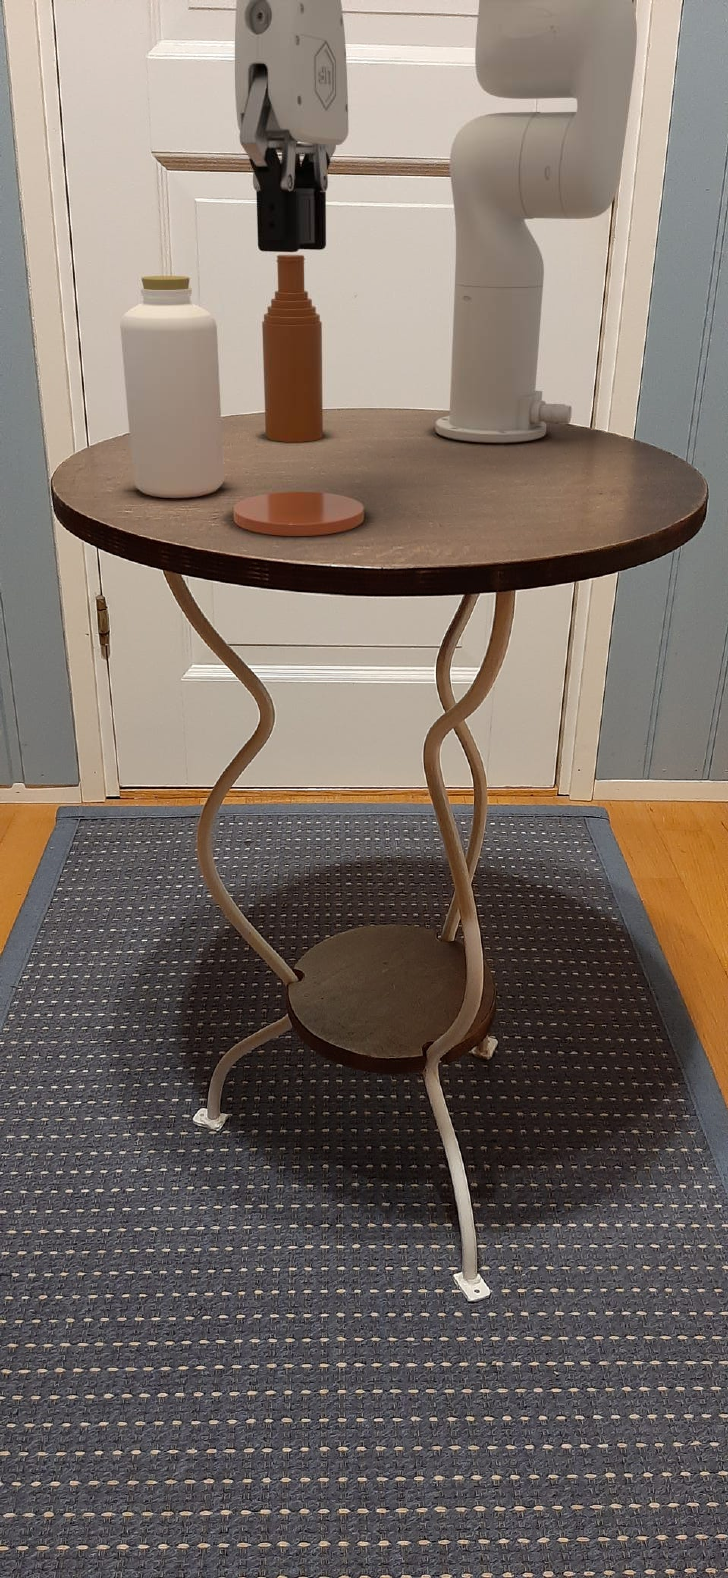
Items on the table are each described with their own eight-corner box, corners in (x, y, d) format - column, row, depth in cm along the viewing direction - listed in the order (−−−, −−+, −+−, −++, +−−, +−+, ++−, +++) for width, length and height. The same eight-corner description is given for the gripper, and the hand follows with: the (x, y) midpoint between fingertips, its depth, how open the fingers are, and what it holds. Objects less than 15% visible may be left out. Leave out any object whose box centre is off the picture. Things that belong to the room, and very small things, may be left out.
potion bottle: (126, 483, 108) (108, 274, 100) (213, 477, 111) (202, 273, 103) (142, 503, 102) (124, 281, 93) (234, 496, 104) (224, 280, 96)
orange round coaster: (382, 510, 100) (383, 498, 100) (332, 542, 91) (332, 529, 91) (269, 498, 104) (269, 486, 103) (210, 527, 95) (209, 515, 94)
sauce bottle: (331, 433, 131) (330, 254, 122) (309, 443, 126) (307, 257, 117) (279, 429, 133) (275, 253, 124) (256, 439, 127) (249, 255, 119)
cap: (249, 242, 88) (247, 188, 86) (289, 240, 90) (288, 188, 88) (285, 244, 85) (283, 188, 83) (325, 242, 88) (325, 188, 86)
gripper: (284, -70, 71) (289, 256, 80) (382, -26, 85) (378, 247, 93) (178, -62, 74) (194, 253, 82) (290, -21, 87) (295, 245, 96)
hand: (292, 247), depth 88 cm, fingers closed on cap, 4 cm apart
